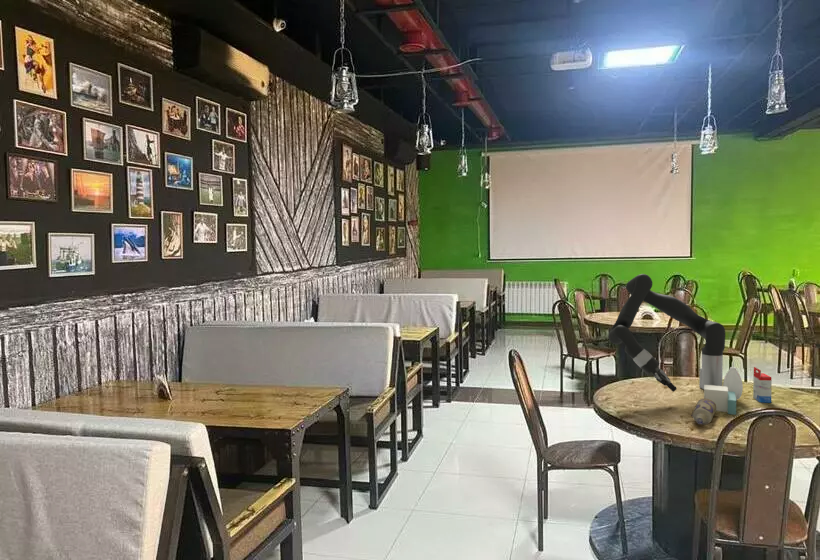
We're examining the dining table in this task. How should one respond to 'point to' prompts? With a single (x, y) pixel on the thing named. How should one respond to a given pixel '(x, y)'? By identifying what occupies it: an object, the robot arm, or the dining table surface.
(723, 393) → the cream block
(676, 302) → the robot arm
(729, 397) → the teal board
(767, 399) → the ink box
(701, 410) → the decorative bottle
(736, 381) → the sauce bottle
